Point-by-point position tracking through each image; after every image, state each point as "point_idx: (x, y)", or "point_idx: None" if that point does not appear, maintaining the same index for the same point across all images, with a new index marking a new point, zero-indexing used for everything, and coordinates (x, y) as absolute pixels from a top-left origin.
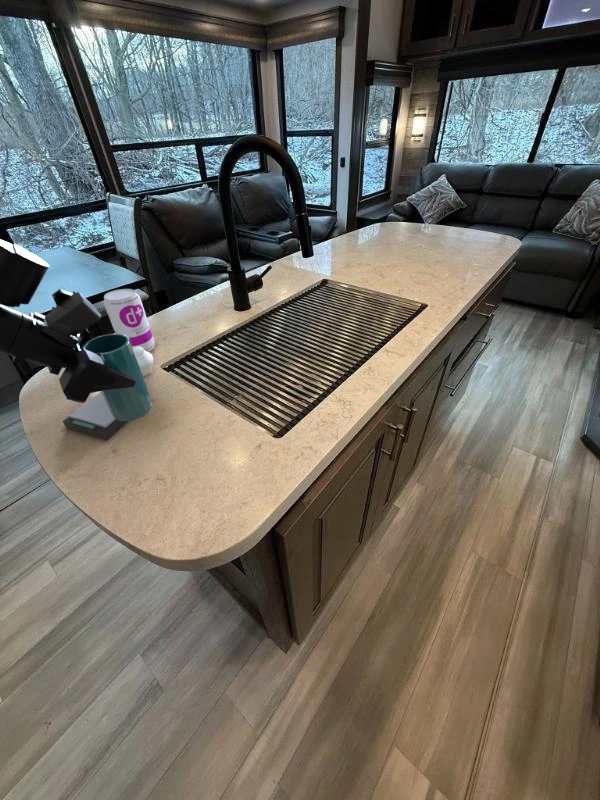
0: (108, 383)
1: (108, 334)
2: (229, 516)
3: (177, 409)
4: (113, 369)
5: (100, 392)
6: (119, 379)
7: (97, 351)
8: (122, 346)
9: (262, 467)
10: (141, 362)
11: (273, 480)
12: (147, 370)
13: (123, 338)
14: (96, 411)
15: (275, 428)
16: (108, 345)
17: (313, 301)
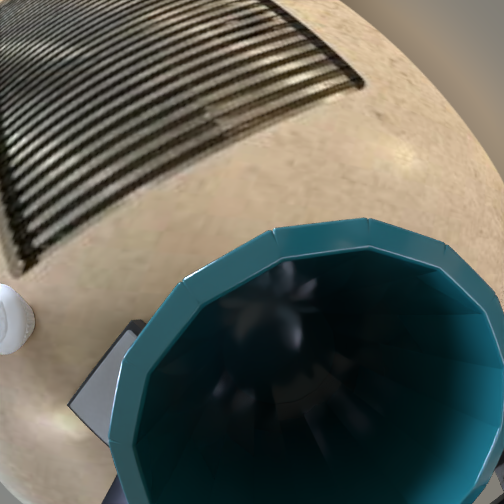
0: None
1: (118, 446)
2: (489, 199)
3: (197, 251)
4: None
5: (92, 428)
6: None
7: (220, 499)
8: (466, 282)
9: (423, 128)
10: (12, 314)
11: (446, 125)
12: (27, 308)
13: (219, 301)
14: None
15: (339, 79)
16: (170, 439)
17: (17, 13)
